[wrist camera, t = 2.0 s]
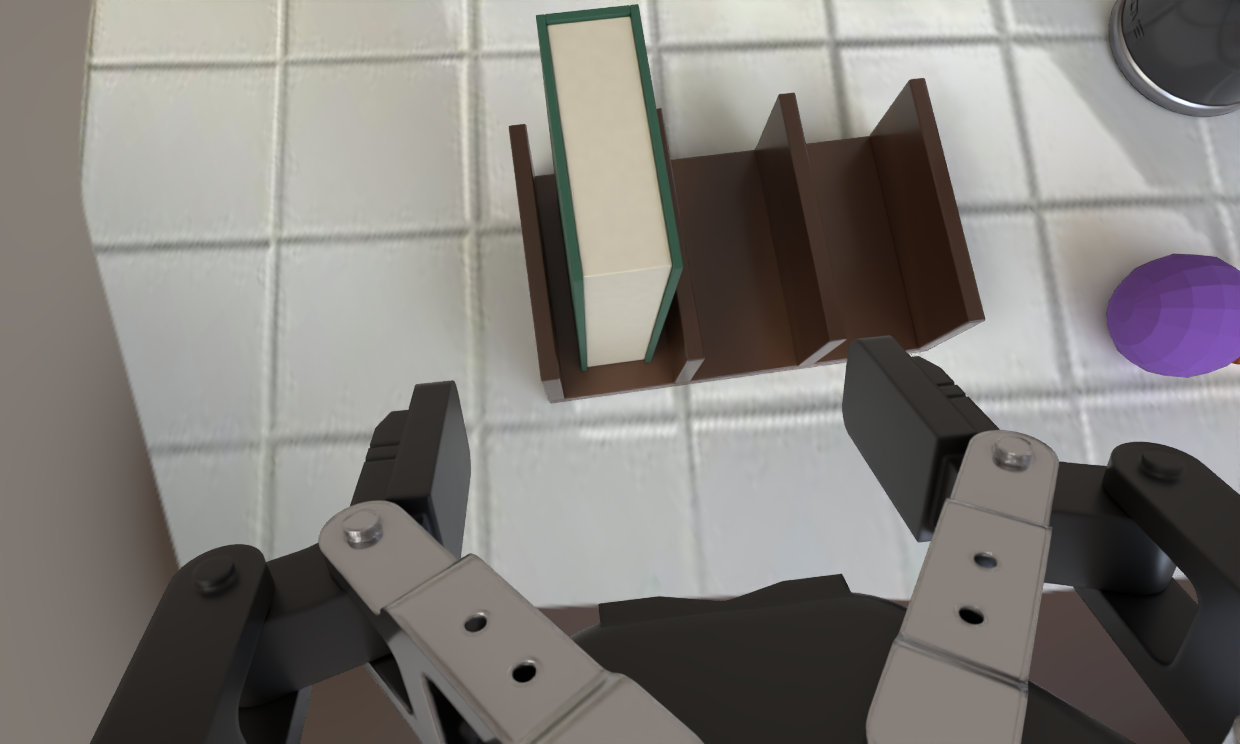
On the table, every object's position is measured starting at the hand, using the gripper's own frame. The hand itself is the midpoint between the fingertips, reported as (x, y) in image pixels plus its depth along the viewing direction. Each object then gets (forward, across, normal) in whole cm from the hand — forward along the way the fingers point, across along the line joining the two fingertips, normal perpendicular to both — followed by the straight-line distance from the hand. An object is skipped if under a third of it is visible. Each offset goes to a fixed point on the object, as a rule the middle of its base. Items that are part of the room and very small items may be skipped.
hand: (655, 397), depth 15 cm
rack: (+23, -6, +7) cm, 25 cm away
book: (+22, 0, +7) cm, 23 cm away
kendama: (+19, -35, +13) cm, 42 cm away
